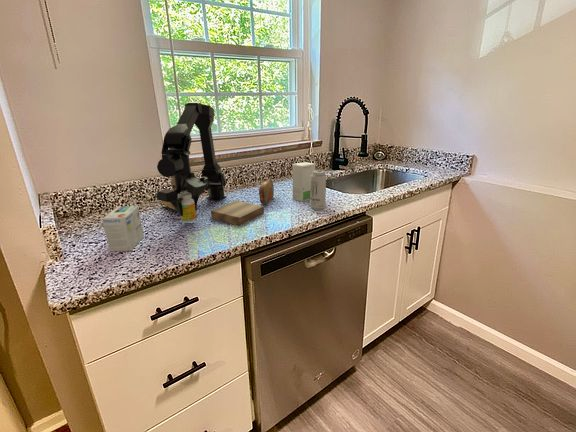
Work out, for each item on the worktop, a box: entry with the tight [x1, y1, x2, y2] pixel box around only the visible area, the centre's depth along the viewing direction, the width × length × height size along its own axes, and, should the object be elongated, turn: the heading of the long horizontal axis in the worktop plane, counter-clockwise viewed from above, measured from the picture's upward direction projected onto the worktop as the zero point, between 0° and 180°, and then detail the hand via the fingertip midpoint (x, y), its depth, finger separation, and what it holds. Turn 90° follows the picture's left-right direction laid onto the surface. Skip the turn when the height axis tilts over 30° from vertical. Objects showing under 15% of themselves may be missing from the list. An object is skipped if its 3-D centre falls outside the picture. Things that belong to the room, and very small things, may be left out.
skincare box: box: [292, 161, 316, 203], centre depth 134 cm, size 8×7×16 cm
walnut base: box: [210, 200, 265, 227], centre depth 118 cm, size 14×14×3 cm
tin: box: [258, 180, 275, 205], centre depth 133 cm, size 15×3×8 cm, turn 168°
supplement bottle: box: [179, 192, 197, 224], centre depth 109 cm, size 5×5×10 cm
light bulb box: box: [101, 205, 145, 253], centre depth 95 cm, size 11×7×11 cm, turn 5°
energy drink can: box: [309, 169, 327, 211], centre depth 123 cm, size 6×6×15 cm
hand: (187, 213), depth 110 cm, fingers closed on supplement bottle, 5 cm apart
